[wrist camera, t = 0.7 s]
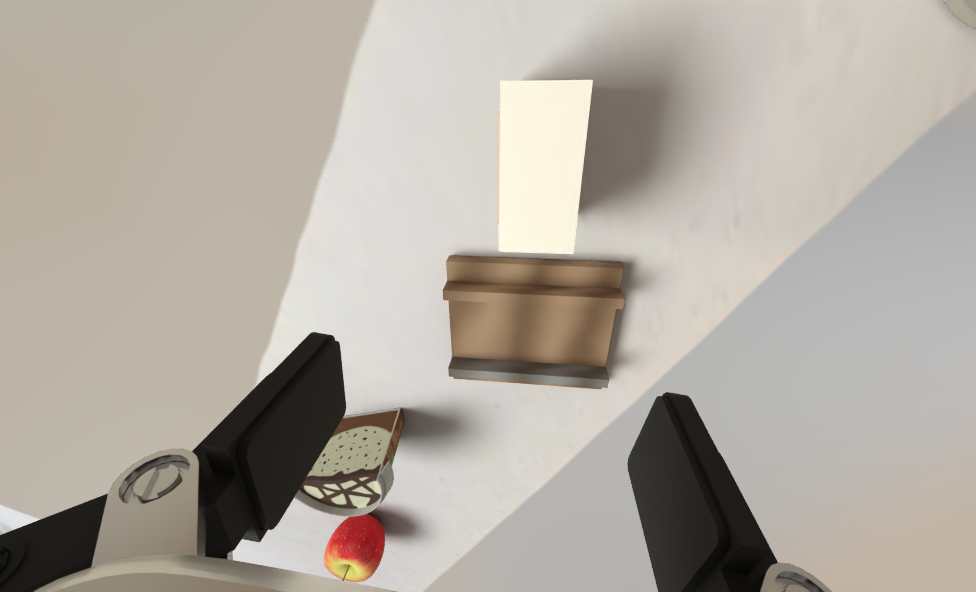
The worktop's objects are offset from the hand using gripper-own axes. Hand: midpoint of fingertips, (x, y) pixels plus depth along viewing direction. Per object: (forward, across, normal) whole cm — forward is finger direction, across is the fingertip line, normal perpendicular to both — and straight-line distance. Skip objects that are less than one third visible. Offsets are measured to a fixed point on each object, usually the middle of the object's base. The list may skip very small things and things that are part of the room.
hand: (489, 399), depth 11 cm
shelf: (+24, -3, +12) cm, 27 cm away
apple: (+24, +16, +54) cm, 61 cm away
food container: (+24, +14, +32) cm, 42 cm away
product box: (+24, -1, -4) cm, 24 cm away
